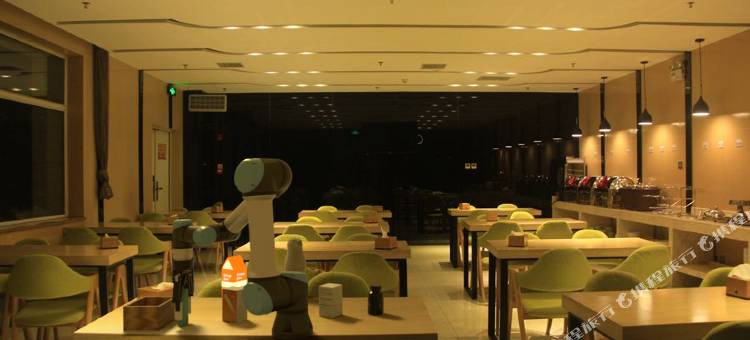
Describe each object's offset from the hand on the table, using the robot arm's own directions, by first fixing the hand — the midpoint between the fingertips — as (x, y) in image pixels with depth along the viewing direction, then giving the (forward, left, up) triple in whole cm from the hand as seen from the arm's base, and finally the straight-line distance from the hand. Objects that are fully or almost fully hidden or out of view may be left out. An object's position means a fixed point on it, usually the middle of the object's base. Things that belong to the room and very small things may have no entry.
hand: (183, 316), depth 227 cm
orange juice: (+32, -37, -4) cm, 49 cm away
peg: (0, 0, -3) cm, 3 cm away
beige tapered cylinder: (+16, -61, -4) cm, 63 cm away
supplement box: (-25, -53, -4) cm, 59 cm away
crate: (+10, +9, -3) cm, 14 cm away
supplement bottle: (-35, -69, -4) cm, 77 cm away
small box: (-6, -19, -4) cm, 20 cm away
